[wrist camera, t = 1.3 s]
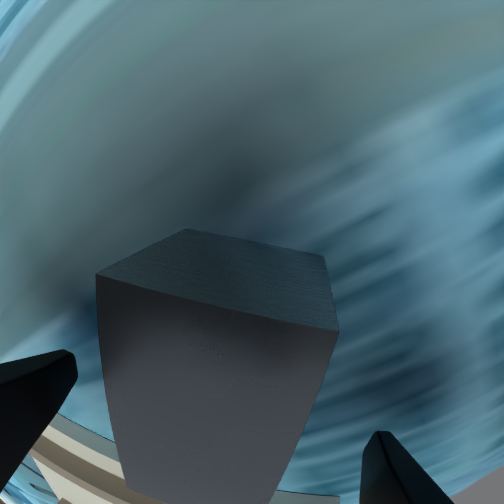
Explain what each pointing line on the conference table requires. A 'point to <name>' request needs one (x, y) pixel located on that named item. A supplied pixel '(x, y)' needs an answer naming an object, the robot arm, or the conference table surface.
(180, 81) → the conference table surface
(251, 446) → the block
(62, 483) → the plate
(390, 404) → the conference table surface
